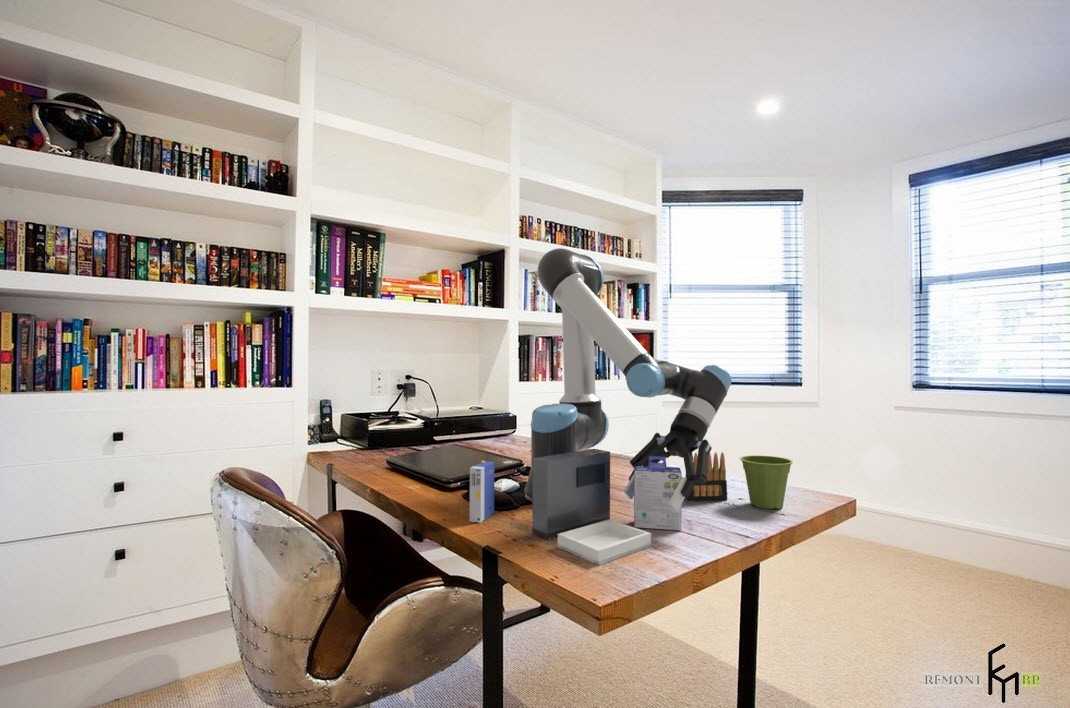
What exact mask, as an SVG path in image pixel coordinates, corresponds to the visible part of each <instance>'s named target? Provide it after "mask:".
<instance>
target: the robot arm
mask: <svg viewBox="0 0 1070 708" xmlns="http://www.w3.org/2000/svg"><path fill="white" fill-rule="evenodd" d="M537 265H538V266H537V278H538V280H539V284H540V285H541V286H542V288H543V289H544V290H545V292H546V294H548V295H549V296H550V298H551V299H553V301H554V302H556V304H557V306H559V307H560V308H561V317H562V319H561V321H562V347H563V348H562V354H563V355H562V356H563V385H564V389H563V390H564V394H563V396H562V397H561V398H560V399H559V402H558V403H552V404H543V405H540V406H537V407H536V408H535V409H533V410H532V413H531V422H530V428H531V431H530V432H531V439H530V440H531V441H530V442H531V443H530V445H531V447H530V449H531V450H530V451H531V459H530V460H531V462H530V463H531V464H530V465H531V466H530V470H529V474H528V477H527V480H526V485H525V486H524V493H525V494H526V495H527V496H529V497H530V498H533V458H538V457H544V456H551V455H557V454H564V453H570V452H577V451H583V450H589V449H592V448H594V447H596V446H597V445H599V444H600V443H601V442H603V441H604V440H605V438H606V436H607V435H608V431H609V428H610V427H609V426H610V423H609V422H610V421H609V417H608V416H607V413H606V412H605V411H604V409H603V408H602V399H601V397H600V396H598V395H597V393H596V373H595V371H596V370H595V343H596V344H597V345H598V347H600V349H601V350H602V351H603V352H604V353H605V355H606V356H607V358H609V359H610V360H611V362H613V364H614V365H615V366H616V367H617V368H618V370H619V371H620V372H621V374H623V375H624V376H625V378H626V379H625V380H626V381H625V382H626V385H627V388H628V390H629V391H630V392H631V394H633V395H634V396H637V397H640V398H655V397H656V396H663V395H665V396H666V395H671V396H672V397H677V398H680V399H682V400H684V401H683V404H682V405H681V407H680V409H679V410H678V411H677V414H676V415H675V417H674V419H673V421H672V422H671V425H670V427H669V431H668V433H667V434H666V435H661V434H660V433H659V432H655V433H654V434H653V437H652V438H651V440H650V441H649V442H647V444H645V446H643V447H642V449H641V450H640V451H638V453H636V454H635V455H634V456H633V457H632V458H631V459H630V461H629V464H630V465H631V466H632V468H633V470H632V472H631V474H630V476H629V477H628V483H627V485H626V486H625V488H624V489H623V493H624V494H625V495H626V497H628V499H629V500H633V499H634V470H635V466H646V467H648V464H649V456H661V457H666V459H669V458H670V457H672V456H673V457H679V458H682V459H683V462H684V463H683V464H684V468H685V469H684V470H685V477H683V476H682V479H681V481H680V483H679V484H678V486H677V488H676V490H675V492H674V494H673V496H672V498H671V500H670V502H669V505H670V506H671V507H672V509H673V510H674V511H675V512H678V510H679V508H680V506H681V504H682V505H683V502H684V501H685V500H684V498H685V497H688V496H689V495H690V493H691V491H692V489H693V487H694V485H696V484H699V483H701V484H702V485H704V484H705V483H706V478H707V466H708V455H709V453H710V454H711V450H712V446H711V444H710V442H709V441H708V440H707V439H704V438H705V436H706V435H707V432H708V429H709V428H711V427H710V426H711V424H712V422H713V421H714V419H715V417H716V415H717V413H718V412H719V409H720V407H721V405H722V404H723V402H724V400H725V398H726V397H727V395H728V392H729V389H730V387H731V386H732V381H733V380H732V376H731V374H730V373H729V372H728V371H727V369H725V368H723V367H722V366H719V365H717V364H710V365H709V364H708V365H705V366H704V367H703V368H702V369H701V370H696V369H691V368H688V367H684V366H681V365H678V364H674V363H672V362H669V361H666V360H661V359H654V358H653V356H651V355H650V353H648V351H647V350H646V349H645V348H644V347H643V346H642V345H641V343H640V342H639V341H638V340H637V339H636V338H635V337H634V335H632V333H631V332H630V331H629V330H628V329H627V328H626V327H625V326H624V325H623V323H621V322H620V320H619V319H618V318H617V316H616V315H614V313H613V312H612V311H611V310H610V309H609V308H608V307H607V306H606V304H604V303H603V301H602V300H600V298H599V297H598V296H599V293H600V291H601V290H602V289H603V286H604V282H605V276H604V275H605V274H604V271H603V269H602V267H601V265H600V263H598V261H596V260H595V259H594V258H592V257H590V256H588V255H586V254H580V253H577V252H575V251H572V250H570V249H566V248H563V247H562V248H553V249H552V250H551V249H550V250H549V251H547V252H546V253H544V254H543V255H542V257H541V259H540V260H539V262H538V264H537ZM594 342H595V343H594ZM665 449H666V450H665ZM696 450H697V456H698V458H697V467H696V474H695V469H694V464H693V460H694V455H693V452H694V451H696ZM661 461H662V460H659V459H655V460H652V461H651V462H652V463H661ZM686 477H687V479H686ZM524 493H523V494H524Z"/></svg>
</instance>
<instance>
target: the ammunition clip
mask: <svg viewBox="0 0 1070 708" xmlns="http://www.w3.org/2000/svg"><path fill="white" fill-rule="evenodd" d="M697 458H698V452H695V453H694V455H693V464H694V469H695V474H696V467H697ZM725 459H726V458H725V454H724V452H723V451H722V452H721V454H720V457H719V458H718V453H717V452H714V454H713V459H712V456H711V452H710V453H709V455H708V466H707V478H706V483H705V484H704V485H702V484H701V483H699V484H696V485H694V487H693V489H692V491H691V493H690V495H689V496H688V497H685V498H684V500H683V501H686V502H688V503H689V502H718V501H728V486H727V478H726V477H727V473H726V472H727V470H726V460H725ZM712 460H713V461H712ZM685 478H686V479H687V477H686V476H685Z"/></svg>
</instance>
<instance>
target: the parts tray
mask: <svg viewBox="0 0 1070 708" xmlns="http://www.w3.org/2000/svg"><path fill="white" fill-rule="evenodd" d="M651 547H652V532H649V531H646V530H643V529H641V528H637V527H634V526H630V525H628V524H625V523H621V522H618V521H616V520H613V519H611V518H610V519H609V520H605V521H602V522H598V523H595V524H591V525H588V526H584V527H581V528H577V529H574V530H570V531H567V532H563V533H560V534H558V537H557V548H558V549H560V550H562V549H563V551H564V550H565V552H567V551H568V552H567V553H569V552H570V554H571V553H572V555H574V556H576V557H578V556H579V558H581V559H582V560H585V561H588V562H590V563H593V564H594V563H595V565H597V566H601V565H603V564H606V563H609V562H612V561H615V560H618V559H621V558H623V557H626V556H628V555H632V554H634V553H637V552H639V551H642V550H646V549H648V548H651Z"/></svg>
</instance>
